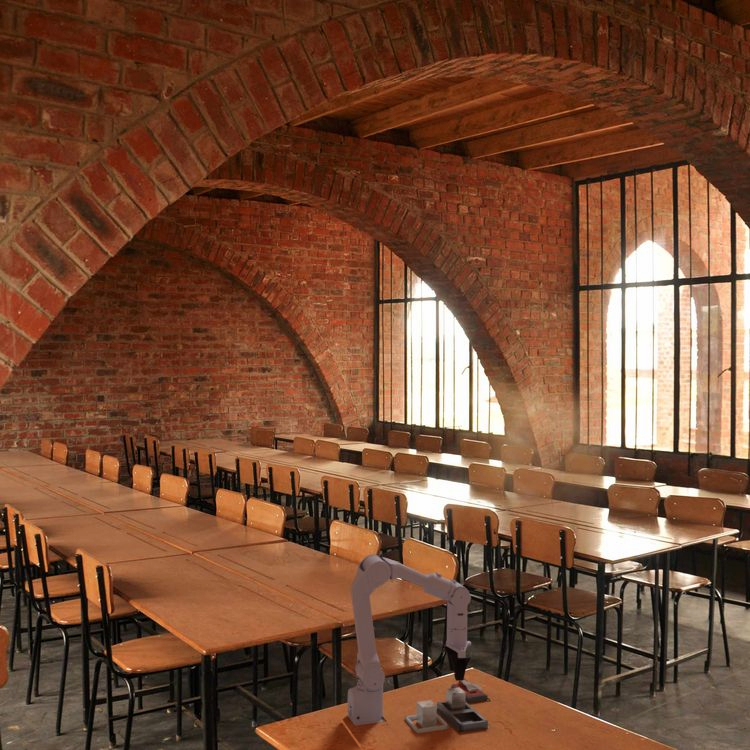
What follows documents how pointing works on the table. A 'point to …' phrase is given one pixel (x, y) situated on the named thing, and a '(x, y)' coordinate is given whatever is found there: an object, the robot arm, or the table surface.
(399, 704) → the table surface
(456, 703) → the seated billet
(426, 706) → the loose billet
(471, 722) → the metal divided rack
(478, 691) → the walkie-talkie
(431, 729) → the grey square tray
